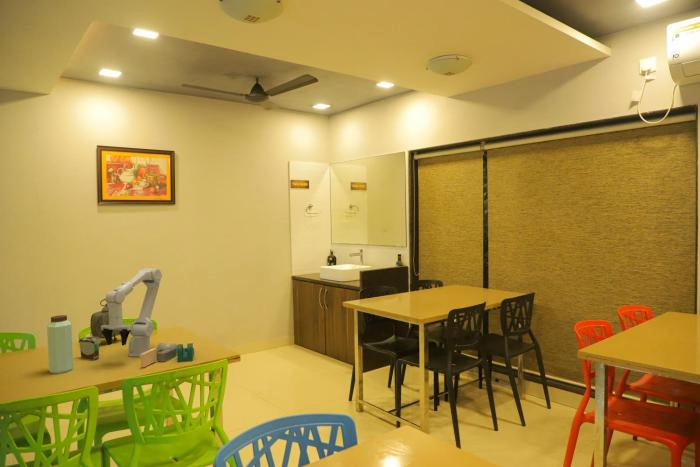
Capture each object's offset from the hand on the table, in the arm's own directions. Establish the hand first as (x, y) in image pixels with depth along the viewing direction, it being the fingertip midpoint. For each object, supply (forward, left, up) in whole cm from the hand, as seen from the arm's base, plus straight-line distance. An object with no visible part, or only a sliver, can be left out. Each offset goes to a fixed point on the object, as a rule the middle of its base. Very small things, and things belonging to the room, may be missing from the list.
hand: (116, 344), depth 224 cm
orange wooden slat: (+16, +1, -9) cm, 18 cm away
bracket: (+26, +16, -10) cm, 32 cm away
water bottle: (-20, -12, -10) cm, 25 cm away
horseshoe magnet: (+16, +12, -9) cm, 22 cm away
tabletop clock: (-32, +34, -10) cm, 48 cm away
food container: (-20, +8, -10) cm, 24 cm away
